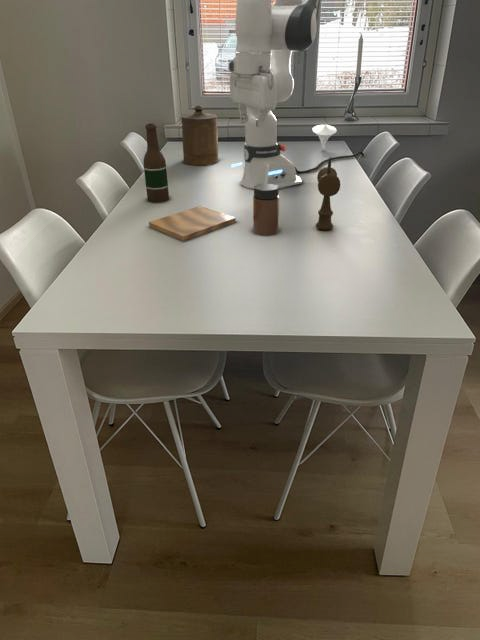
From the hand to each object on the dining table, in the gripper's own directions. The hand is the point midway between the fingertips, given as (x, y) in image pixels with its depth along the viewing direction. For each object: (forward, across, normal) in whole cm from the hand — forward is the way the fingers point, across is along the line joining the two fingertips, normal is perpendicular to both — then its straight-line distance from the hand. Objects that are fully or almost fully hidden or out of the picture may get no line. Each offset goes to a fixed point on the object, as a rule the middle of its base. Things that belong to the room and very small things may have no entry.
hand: (252, 124), depth 129 cm
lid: (+16, -6, -2) cm, 17 cm away
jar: (+28, -6, -2) cm, 29 cm away
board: (+28, +8, +15) cm, 33 cm away
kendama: (+28, -11, -18) cm, 35 cm away
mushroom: (+26, +70, -71) cm, 103 cm away
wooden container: (+27, +79, -15) cm, 85 cm away
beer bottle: (+28, +36, +17) cm, 49 cm away
